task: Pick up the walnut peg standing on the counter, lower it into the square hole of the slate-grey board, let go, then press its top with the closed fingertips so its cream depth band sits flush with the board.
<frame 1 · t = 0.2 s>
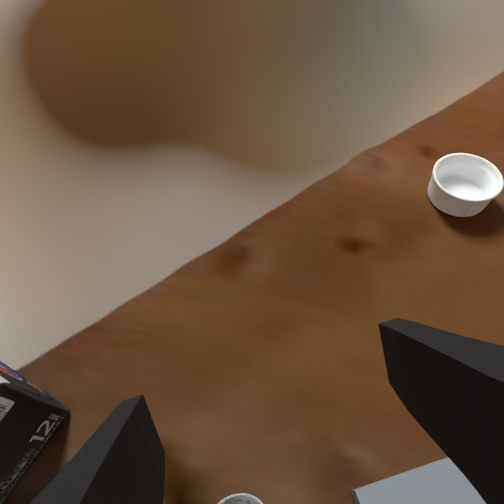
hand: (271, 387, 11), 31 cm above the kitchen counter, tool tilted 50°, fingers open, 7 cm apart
ramekin: (455, 197, 55), on the kitchen counter
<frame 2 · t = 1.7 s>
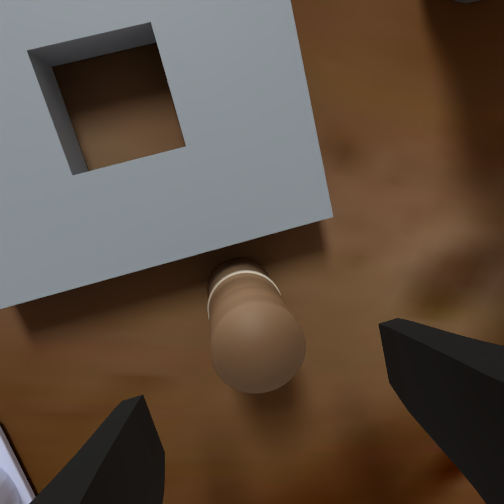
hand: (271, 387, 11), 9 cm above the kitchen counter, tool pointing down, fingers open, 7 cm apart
board: (122, 109, 18), on the kitchen counter
peg: (239, 288, 20), on the kitchen counter
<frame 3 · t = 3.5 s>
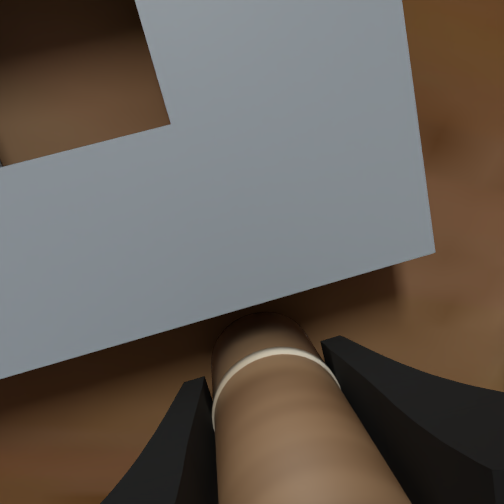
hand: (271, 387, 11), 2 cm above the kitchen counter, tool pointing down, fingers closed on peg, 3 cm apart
board: (61, 63, 10), on the kitchen counter
peg: (262, 360, 13), on the kitchen counter, touching gripper
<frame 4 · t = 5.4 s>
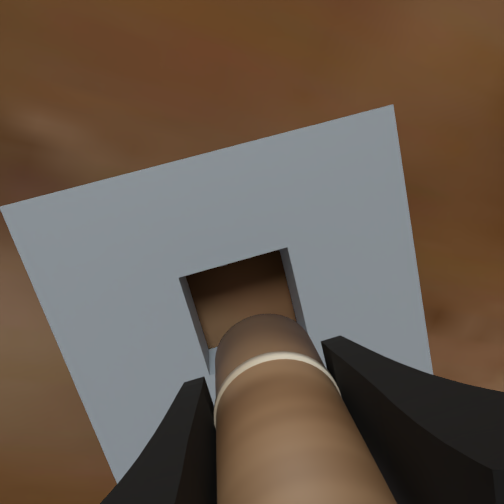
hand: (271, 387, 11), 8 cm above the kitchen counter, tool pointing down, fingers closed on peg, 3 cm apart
board: (241, 294, 19), on the kitchen counter
peg: (265, 360, 13), point 6 cm above the kitchen counter, touching gripper
when the fingers open (3 cm above the kitchen counter, at t = 7.2 s): peg drops 1 cm, resting in board.
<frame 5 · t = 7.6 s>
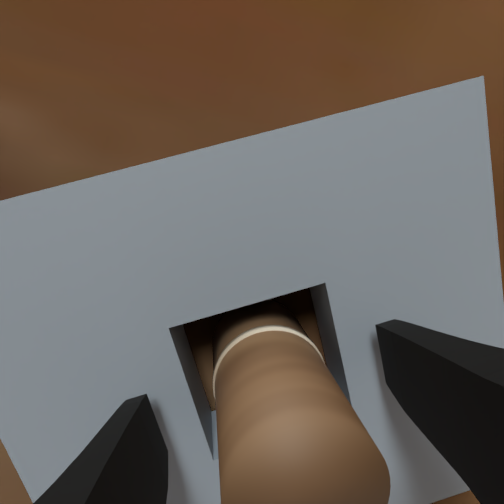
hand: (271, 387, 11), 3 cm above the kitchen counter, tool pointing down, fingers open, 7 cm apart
board: (255, 339, 14), on the kitchen counter
peg: (257, 341, 14), resting in board
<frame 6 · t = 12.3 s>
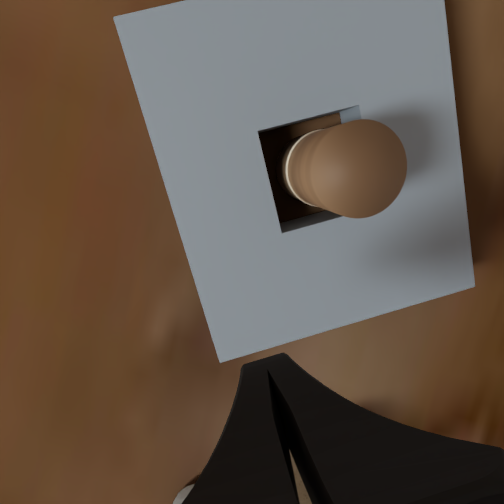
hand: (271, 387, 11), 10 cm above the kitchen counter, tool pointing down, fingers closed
ceramic mug: (254, 492, 25), on the kitchen counter
board: (305, 169, 20), on the kitchen counter
peg: (307, 168, 20), resting in board
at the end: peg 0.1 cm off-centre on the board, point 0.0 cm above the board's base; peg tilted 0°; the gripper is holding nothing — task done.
